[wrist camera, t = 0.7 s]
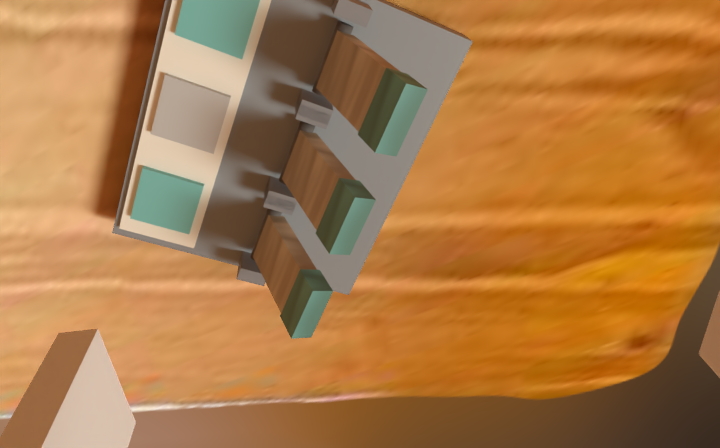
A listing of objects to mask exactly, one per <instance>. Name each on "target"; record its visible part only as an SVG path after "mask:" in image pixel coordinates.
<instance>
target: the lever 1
mask: <svg viewBox="0 0 720 448" xmlns="http://www.w3.org/2000/svg"><path fill="white" fill-rule="evenodd" d="M352 30H353V26H351V25H349V24H347V23H345V22H342V21H339V20H338V21H337V24H336V27H335V29H334V32H333V35H332V37H331V40H330V43H329V45H328V48H327V51H326V53H325V56H324V59H323V62H322V64H321V67H320V70H319V72H318V75H317V78H316V80H315V83H314V86H313V89H312V91H313V92H314V93H316V94H318V95H320V96H323V97H325V98H326V99H327V100H328V101H329V102H330V103H331V104H332V105H333V106H334V107H335V108H336V109H337V110H338V111H339V112H340V113H341V114H342V115H343V116H344V117H345V118H346V119H347V120H348V121H349V122H350V124H351V125H352V126H353V127H354V128H355V129H356V130H357V131H358V136H359V137H360V138H361V139H362V140H363V141H364V142H365V143H366V144H367V145H368V146H369V147H370V148H371V149H372V150H373V151H374V152H375V153H379V154H384V155H390V156H397V154H398V152H399V150H400V148H401V146H402V143H403V141H404V139H405V137H406V135H407V133H408V131H409V129H410V127H411V124H412V122H413V120H414V118H415V116H416V114H417V112H418V110H419V107H420V105H421V103H422V101H423V99H424V97H425V95H426V93H427V90H428V89H427V88H425V87H424V86H423V85H421V84H420V83H419V82H418V81H416V80H415V79H414V78H412V77H411V76H410V75H408V74H407V73H403V72H400V71H399V70H398V69H397V68H395V67H394V66H393V65H391V64H390V63H389V62H388V61H386V60H385V59H384V58H382V57H381V56H380V55H379V54H377V53H376V52H375V51H373V50H372V49H371V48H370V47H368V46H367V45H366V44H364V43H363V42H362V41H361V40H359V39H358V38H357V37H355V36H354V35H351V33H352Z"/></svg>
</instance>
